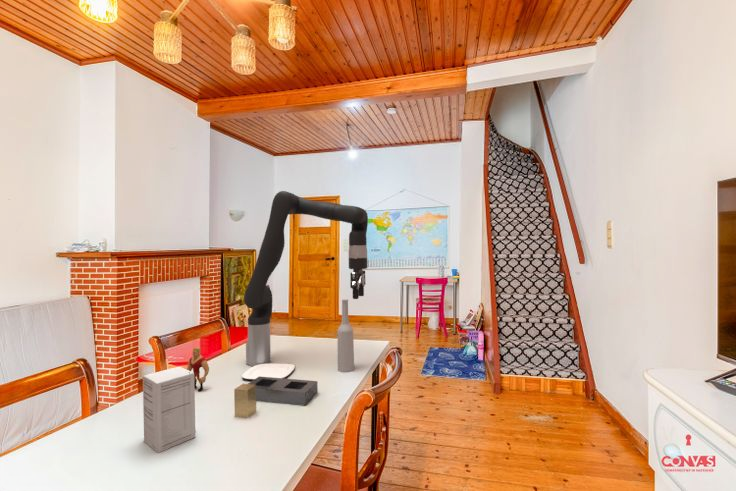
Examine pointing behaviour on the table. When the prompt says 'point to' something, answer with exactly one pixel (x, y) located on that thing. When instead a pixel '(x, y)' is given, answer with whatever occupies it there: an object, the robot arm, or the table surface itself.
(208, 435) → the table surface
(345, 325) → the bottle
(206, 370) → the action figure
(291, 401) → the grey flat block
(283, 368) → the plate
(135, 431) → the table surface
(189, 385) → the supplement box
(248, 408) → the brass peg
